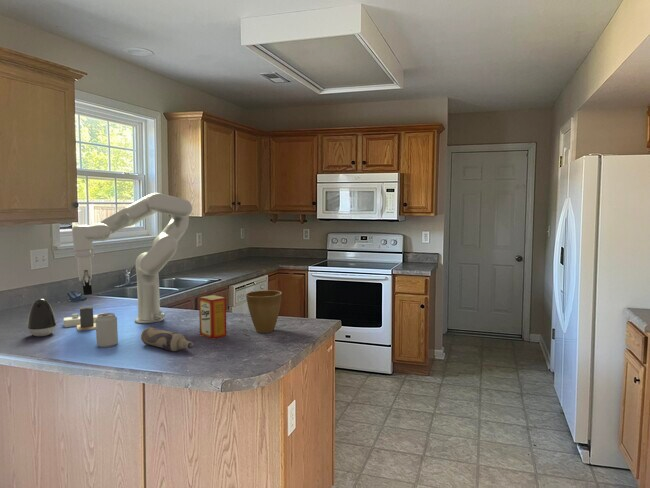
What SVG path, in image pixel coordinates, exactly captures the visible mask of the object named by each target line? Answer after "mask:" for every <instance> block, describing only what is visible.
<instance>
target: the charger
mask: <svg viewBox="0 0 650 488" xmlns="http://www.w3.org/2000/svg"><path fill="white" fill-rule="evenodd" d="M93 315H94V308H93V306H84V307H83V306H82V307H79V316H80V321H81V328H82V327H92V326H94V324H93Z"/></svg>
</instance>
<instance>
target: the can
mask: <svg viewBox="0 0 650 488" xmlns="http://www.w3.org/2000/svg"><path fill="white" fill-rule="evenodd" d="M102 313H103V314H101V313H99V315H98V314H96V315H97V316H98V317H97V318H96V329H95V334H96V335H95V336H96V337H95V338H96V345H97V346H98V347H100V348H110V347H111V348H112V347H115V346H116V345H117V343H119V337H118V336H119V334H118V332H119V331H118V317H117V316H116V314H115V313H113V312H102Z"/></svg>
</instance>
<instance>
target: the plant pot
mask: <svg viewBox="0 0 650 488" xmlns="http://www.w3.org/2000/svg"><path fill="white" fill-rule="evenodd" d="M245 297H246V302H247V308H248V313H249V315H250V318H251V321H252V324H253V326H254V329H255V331H256V333H264V334H265V333H271V332H274V330H275V328H276V325H277V322H278V318H279V313H280V308H281V303H282V291H279V290H271V289H270V290H269V289H268V290H255V291H250V292H247V293H246V294H245Z"/></svg>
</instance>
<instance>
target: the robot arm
mask: <svg viewBox="0 0 650 488" xmlns="http://www.w3.org/2000/svg"><path fill="white" fill-rule="evenodd" d="M192 212H193V205H192V203H191V202H190V201H189V200H188V199H185V198H181V197H177V196H172V195H168V194H165V193H164V194H163V193H160V192H153V193H150V194H147V195H146V196H144V197H142V198H140V199H139V200H136V201H135V202H133V203H131V204H129V205H127V206H125V207H124V208H122V209H120V210H118V211H117V212H115V213H113V214H111V215H110V216H108V217H106V218H104V219H102V220H100V221H99V222H97V223H95V224H92V225H89V224H80V225H79V224H78V225H73V227H72V228H71V231H72V242H73V250H74V251H73V252H74V253H73V254H74V258H75V259H77V270H78V271H77V272H78V280H79V282H81V281H82V291H83V295H84V296H88V295H92V294H93V290H92V286H93V285H92V284H91V283H92V282H91V280H92V279H93V267H92V264H93V263H92V258H93V257H95V254H94V253H95V251H94V244H93V241H95V242H104V241H107V240H109V239H110V238H111V236H112V235H114V234H115V233H116V232H119V231H120V230H123V229H125V228H128V227H131V226H134V225H136V224H138V223H140V222H141V221H143V220H145V219H147V218H149V217H150V216H153V215H154V214H156V213H160V214H164V215H169V216H170V220H169V222H168V223H167V224H166V226H165V227H164V228H163V230H162V231H161V232H159V234H158V235H157V236H156V237H155V238H154V240H153V241H152V246H151V248H150V249H149V250H148V251H145V252H142V253H140V254H139V255H137V258H136V259H135V274H136V288H137V289H136V292H137V314H138V316H137V317H136V318H134V322H135V323H138V324H152V323H159V322H162V321H163V320H164V319H165V317H166V313H162V310H161V305H160V304H161V301H160V277H159V272H161V271H162V270H163V268H164V267H165V266H166V265H167V263H169V261H170V260H171V259H172V258H173V256H175V254H176V253H177V250H178V242H179V241H180V239H182V237H183V236H184V235H185V233H186V232H187V230H188V227H189V224H190V223H189V222H190V215H191V213H192Z"/></svg>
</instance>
